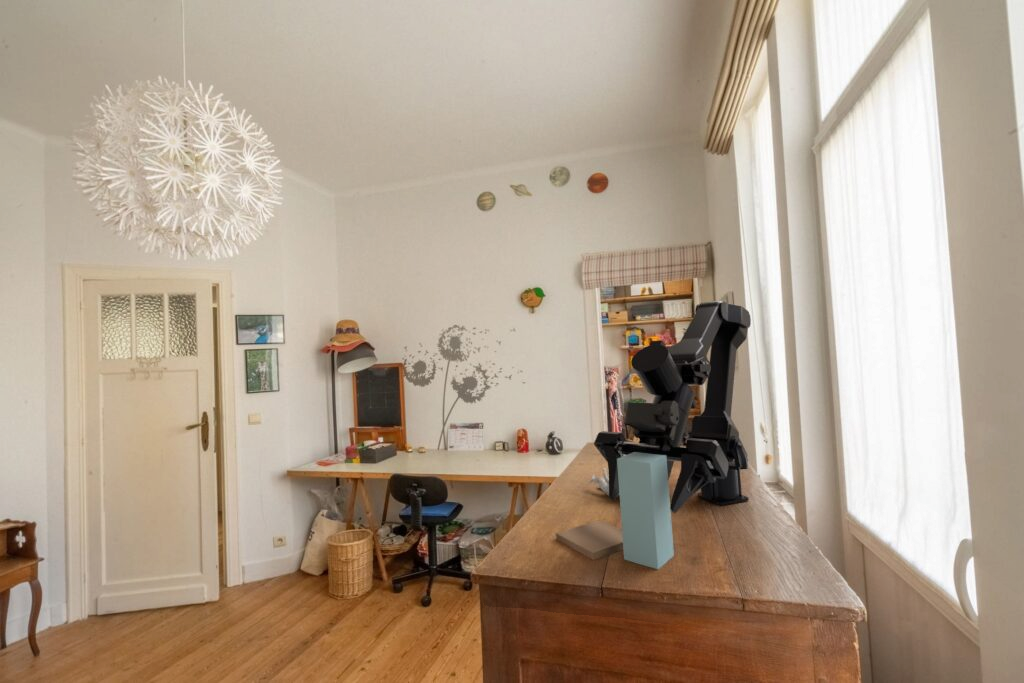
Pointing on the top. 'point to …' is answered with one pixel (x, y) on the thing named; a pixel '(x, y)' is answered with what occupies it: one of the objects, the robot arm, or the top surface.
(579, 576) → the top surface
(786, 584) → the top surface
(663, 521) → the pillar
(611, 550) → the base tile
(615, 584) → the top surface
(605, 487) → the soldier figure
